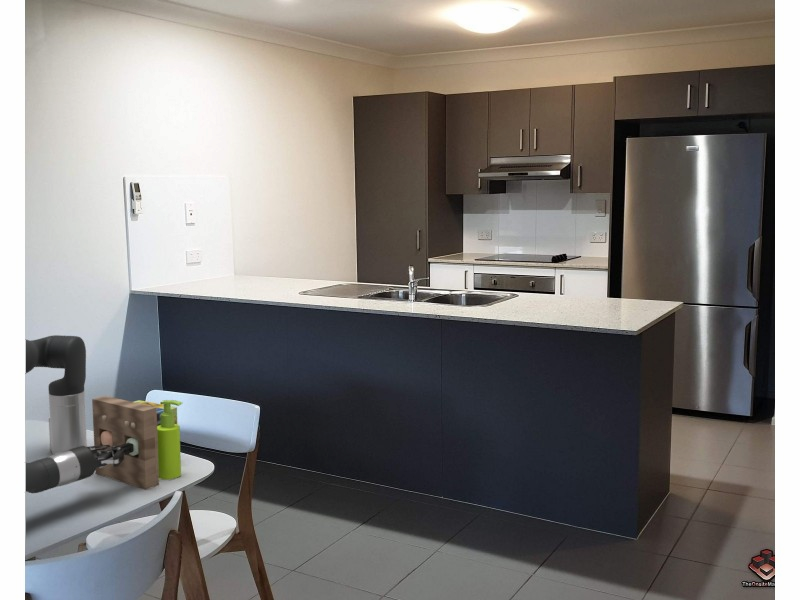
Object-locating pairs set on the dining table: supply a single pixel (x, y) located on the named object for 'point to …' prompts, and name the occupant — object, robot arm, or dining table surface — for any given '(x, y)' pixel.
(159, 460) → the soap dispenser
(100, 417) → the button panel
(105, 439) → the button one
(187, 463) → the dining table surface
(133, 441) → the button two
